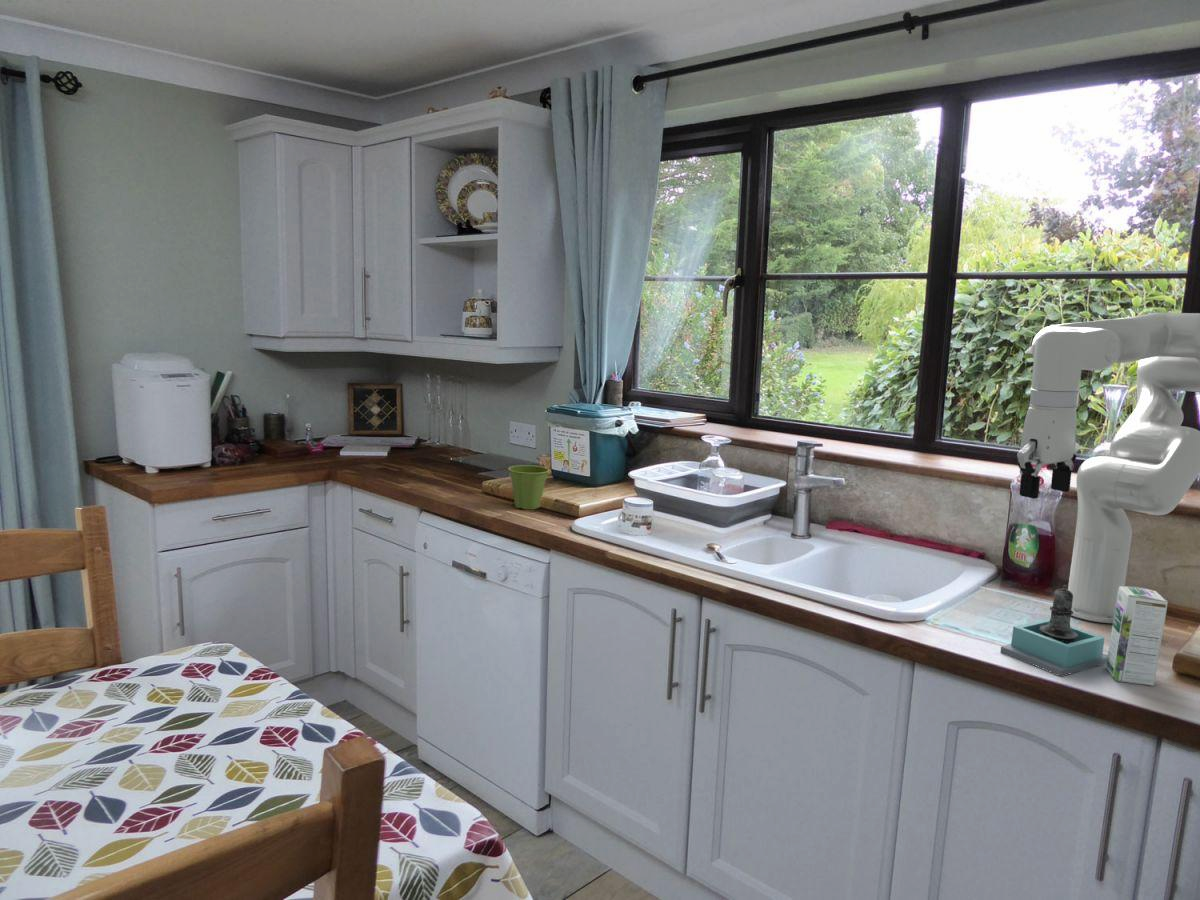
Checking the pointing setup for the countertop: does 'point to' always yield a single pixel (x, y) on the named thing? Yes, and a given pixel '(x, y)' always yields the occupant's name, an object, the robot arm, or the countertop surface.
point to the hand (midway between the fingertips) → (1044, 493)
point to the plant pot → (528, 485)
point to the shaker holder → (1055, 649)
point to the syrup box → (1136, 635)
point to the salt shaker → (1060, 618)
